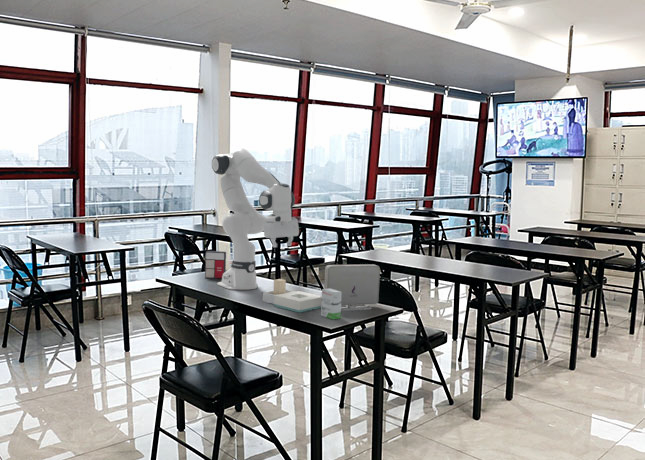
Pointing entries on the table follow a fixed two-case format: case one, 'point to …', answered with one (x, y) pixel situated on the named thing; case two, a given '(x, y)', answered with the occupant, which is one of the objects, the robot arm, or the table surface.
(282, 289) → the plug
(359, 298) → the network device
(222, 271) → the red and grey box
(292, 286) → the table surface
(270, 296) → the holster
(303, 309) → the block
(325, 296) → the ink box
